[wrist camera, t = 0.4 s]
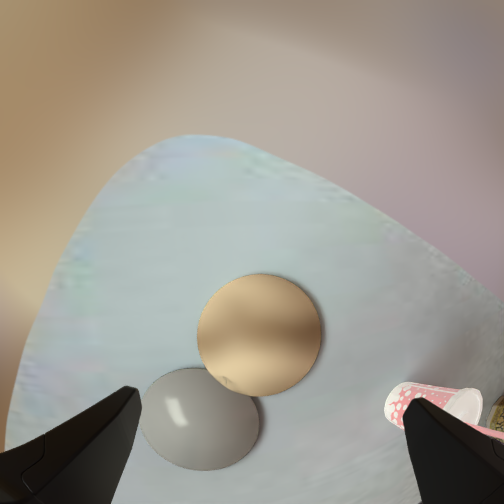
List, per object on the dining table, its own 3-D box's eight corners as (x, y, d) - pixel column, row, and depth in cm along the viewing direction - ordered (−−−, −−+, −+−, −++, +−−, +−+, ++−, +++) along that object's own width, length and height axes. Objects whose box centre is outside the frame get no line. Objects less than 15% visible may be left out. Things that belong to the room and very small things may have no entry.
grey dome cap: (270, 452, 19) (272, 455, 19) (164, 473, 17) (163, 477, 17) (239, 354, 21) (240, 355, 20) (124, 379, 19) (122, 381, 18)
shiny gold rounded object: (330, 371, 21) (332, 372, 21) (217, 407, 20) (217, 409, 19) (300, 262, 23) (302, 260, 23) (183, 292, 21) (182, 291, 21)
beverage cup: (377, 436, 21) (472, 490, 7) (377, 384, 22) (492, 421, 8) (421, 416, 21) (515, 447, 8) (422, 367, 23) (530, 381, 9)
